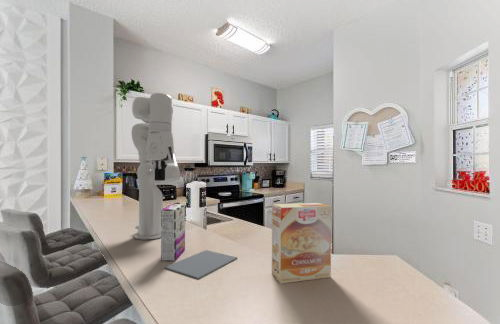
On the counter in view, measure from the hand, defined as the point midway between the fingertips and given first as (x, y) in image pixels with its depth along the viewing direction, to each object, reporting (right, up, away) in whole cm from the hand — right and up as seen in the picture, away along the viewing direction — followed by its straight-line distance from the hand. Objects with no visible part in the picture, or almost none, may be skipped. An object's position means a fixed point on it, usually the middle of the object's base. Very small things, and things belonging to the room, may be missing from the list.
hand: (159, 180), depth 89 cm
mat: (+18, -25, -12) cm, 32 cm away
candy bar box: (+6, -25, -5) cm, 26 cm away
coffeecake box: (+46, -25, -20) cm, 56 cm away
